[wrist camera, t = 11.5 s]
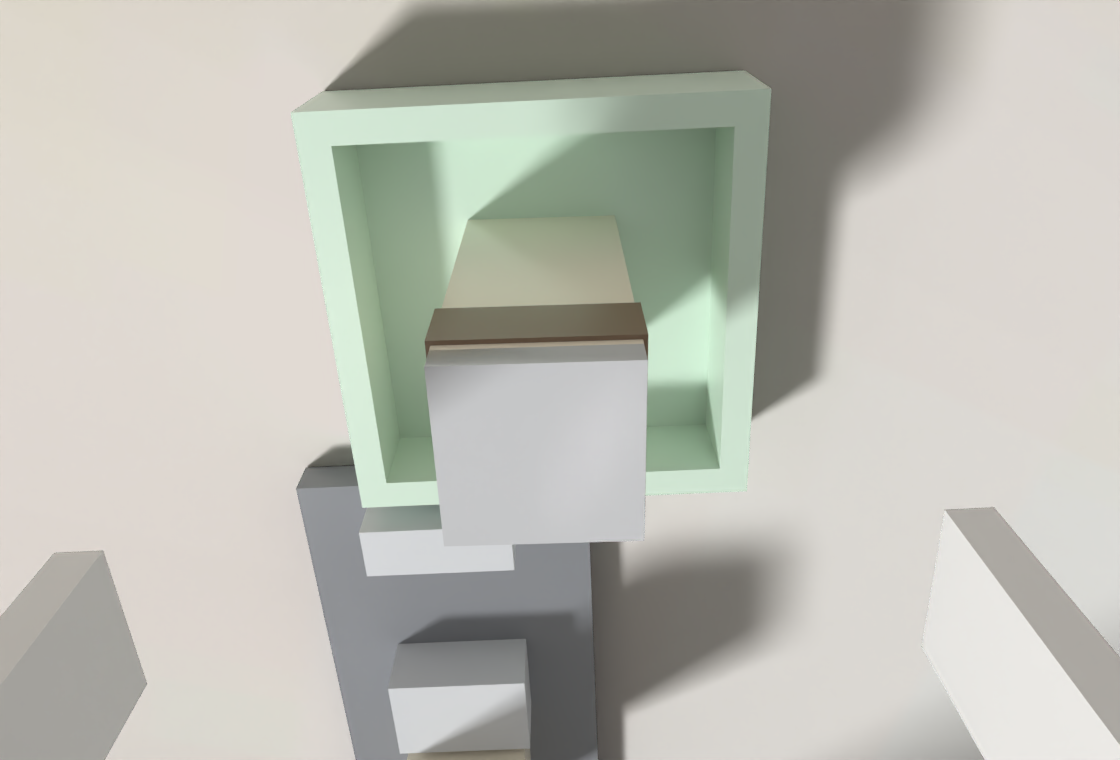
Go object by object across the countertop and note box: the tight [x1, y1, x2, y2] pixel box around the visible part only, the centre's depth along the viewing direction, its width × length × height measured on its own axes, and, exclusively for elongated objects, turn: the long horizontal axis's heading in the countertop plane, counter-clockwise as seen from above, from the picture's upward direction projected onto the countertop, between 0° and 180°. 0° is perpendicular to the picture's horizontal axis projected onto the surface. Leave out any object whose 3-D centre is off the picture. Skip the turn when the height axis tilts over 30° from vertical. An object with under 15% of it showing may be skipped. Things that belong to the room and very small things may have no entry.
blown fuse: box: [424, 215, 648, 546], centre depth 20 cm, size 4×4×9 cm
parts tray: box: [291, 70, 772, 508], centre depth 24 cm, size 11×11×3 cm
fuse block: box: [296, 465, 598, 760], centre depth 30 cm, size 16×9×3 cm, turn 3°
